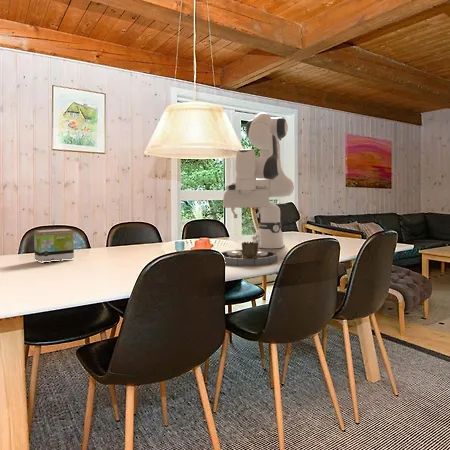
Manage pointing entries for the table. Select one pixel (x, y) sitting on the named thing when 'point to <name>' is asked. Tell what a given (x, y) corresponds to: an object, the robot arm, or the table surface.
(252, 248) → the cup
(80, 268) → the table surface
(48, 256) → the tea box
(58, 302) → the table surface
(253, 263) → the tray
